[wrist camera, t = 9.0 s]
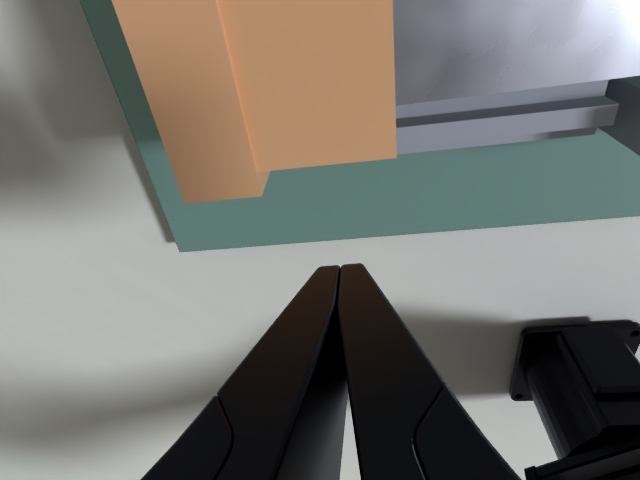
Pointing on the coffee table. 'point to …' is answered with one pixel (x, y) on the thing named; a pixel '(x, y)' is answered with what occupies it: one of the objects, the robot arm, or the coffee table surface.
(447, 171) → the board
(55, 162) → the coffee table surface
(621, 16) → the strap
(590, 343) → the robot arm
